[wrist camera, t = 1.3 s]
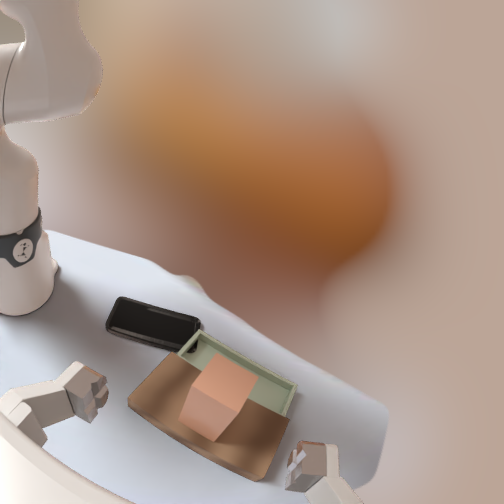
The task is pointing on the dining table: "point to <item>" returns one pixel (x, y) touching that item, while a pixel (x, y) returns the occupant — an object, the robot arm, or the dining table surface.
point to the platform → (220, 451)
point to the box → (267, 385)
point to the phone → (152, 325)
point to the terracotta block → (216, 397)
